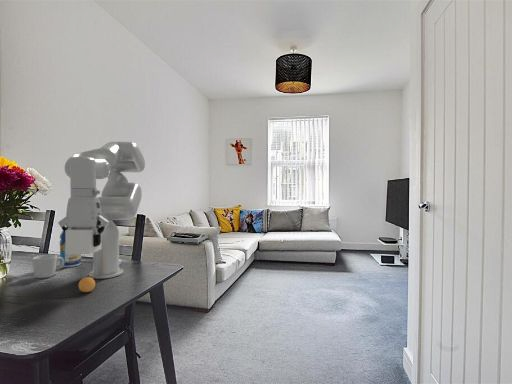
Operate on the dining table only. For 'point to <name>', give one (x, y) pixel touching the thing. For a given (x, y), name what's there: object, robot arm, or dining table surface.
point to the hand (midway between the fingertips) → (84, 245)
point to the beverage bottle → (69, 259)
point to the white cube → (80, 241)
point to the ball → (86, 284)
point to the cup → (46, 265)
